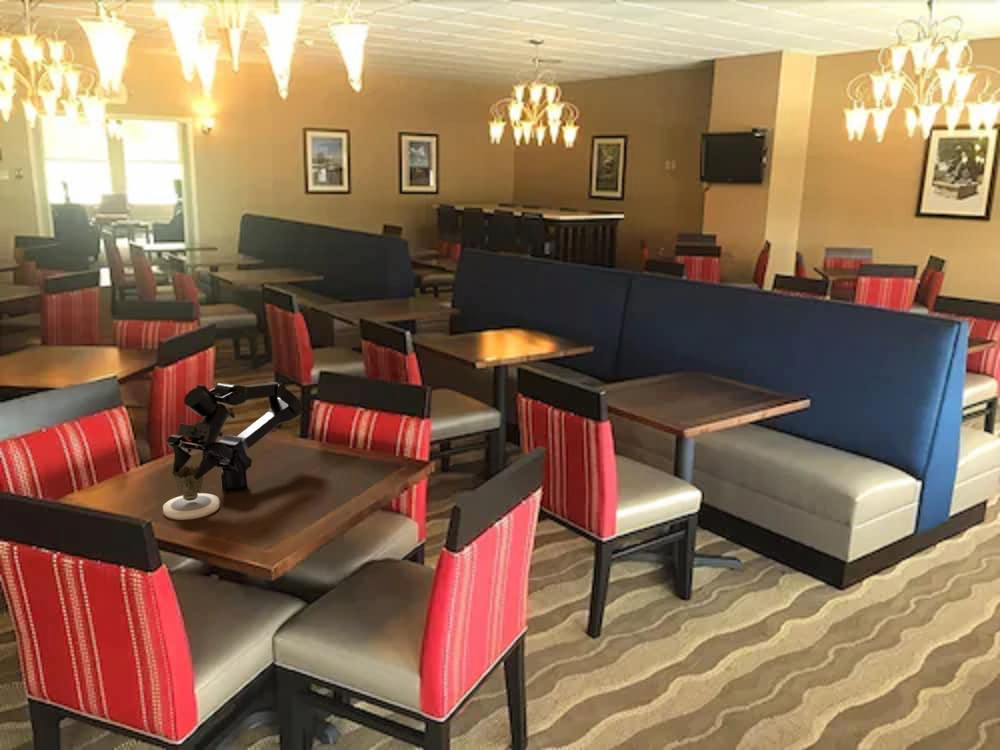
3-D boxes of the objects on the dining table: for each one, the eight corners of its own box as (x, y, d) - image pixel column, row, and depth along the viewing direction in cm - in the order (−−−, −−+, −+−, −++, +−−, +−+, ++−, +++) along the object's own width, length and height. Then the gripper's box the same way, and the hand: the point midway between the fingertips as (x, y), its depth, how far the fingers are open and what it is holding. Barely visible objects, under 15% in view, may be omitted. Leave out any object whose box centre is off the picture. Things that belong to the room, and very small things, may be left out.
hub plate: (218, 495, 223) (217, 489, 223) (221, 514, 211) (220, 508, 210) (163, 502, 218) (162, 497, 218) (163, 523, 206) (162, 517, 205)
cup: (191, 490, 219) (188, 463, 217) (211, 496, 216) (209, 468, 214) (169, 500, 212) (166, 472, 210) (190, 506, 209) (187, 478, 207)
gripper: (167, 406, 215) (138, 458, 208) (220, 414, 208) (192, 469, 201) (192, 425, 224) (166, 476, 217) (244, 434, 217) (218, 487, 210)
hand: (184, 476), depth 211 cm, fingers closed on cup, 7 cm apart
